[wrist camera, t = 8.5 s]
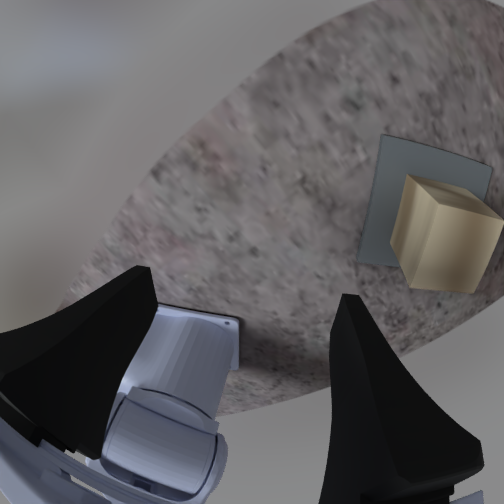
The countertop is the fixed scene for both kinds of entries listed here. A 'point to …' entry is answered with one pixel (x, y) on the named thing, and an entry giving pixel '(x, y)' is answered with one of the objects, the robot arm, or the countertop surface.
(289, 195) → the countertop surface
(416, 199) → the block
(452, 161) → the coaster
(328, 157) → the countertop surface
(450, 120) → the countertop surface
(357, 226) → the countertop surface
